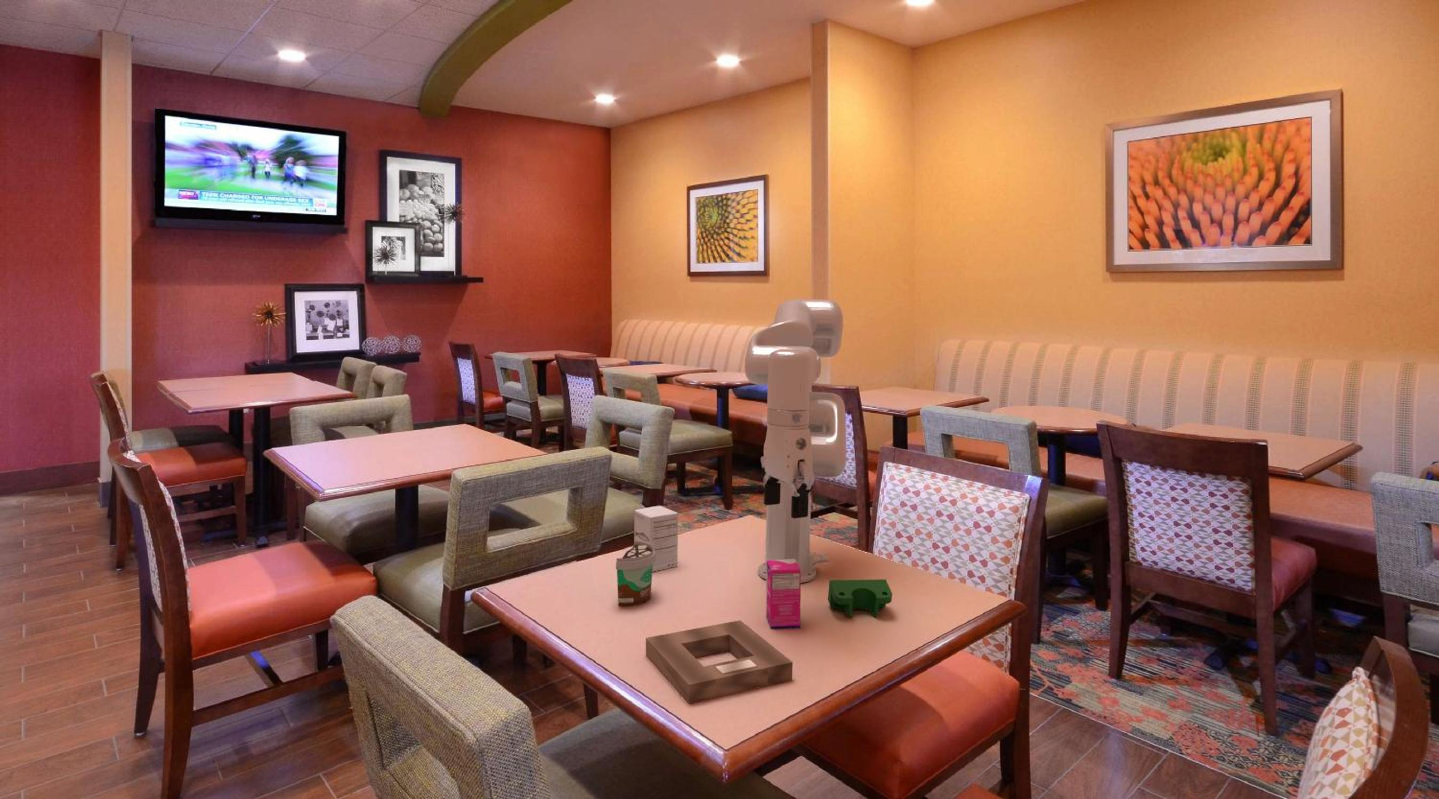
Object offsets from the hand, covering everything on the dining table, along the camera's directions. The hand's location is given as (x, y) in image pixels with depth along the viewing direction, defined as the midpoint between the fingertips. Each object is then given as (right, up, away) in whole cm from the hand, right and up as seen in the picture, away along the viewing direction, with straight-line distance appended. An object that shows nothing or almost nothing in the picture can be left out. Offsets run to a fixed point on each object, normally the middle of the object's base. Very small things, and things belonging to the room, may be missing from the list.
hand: (785, 510), depth 148 cm
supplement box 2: (0, -22, +3) cm, 22 cm away
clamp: (+15, -21, +8) cm, 27 cm away
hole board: (-12, -24, -15) cm, 31 cm away
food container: (-28, -20, +14) cm, 37 cm away
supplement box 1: (-26, -17, +33) cm, 46 cm away
